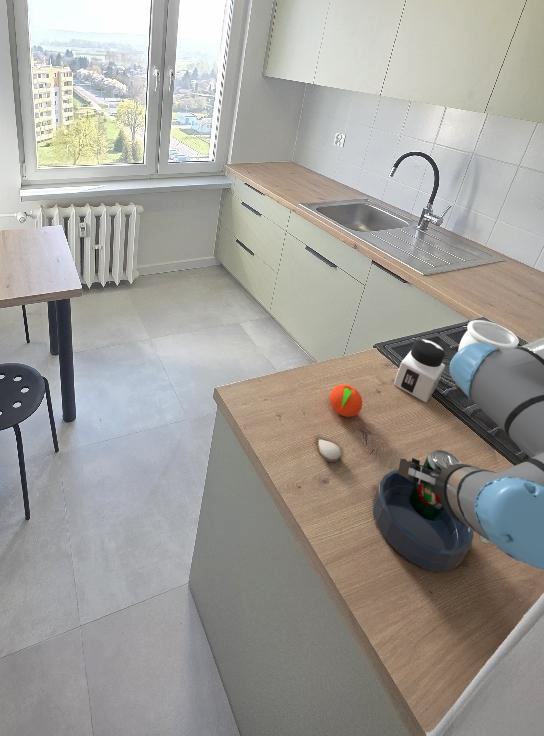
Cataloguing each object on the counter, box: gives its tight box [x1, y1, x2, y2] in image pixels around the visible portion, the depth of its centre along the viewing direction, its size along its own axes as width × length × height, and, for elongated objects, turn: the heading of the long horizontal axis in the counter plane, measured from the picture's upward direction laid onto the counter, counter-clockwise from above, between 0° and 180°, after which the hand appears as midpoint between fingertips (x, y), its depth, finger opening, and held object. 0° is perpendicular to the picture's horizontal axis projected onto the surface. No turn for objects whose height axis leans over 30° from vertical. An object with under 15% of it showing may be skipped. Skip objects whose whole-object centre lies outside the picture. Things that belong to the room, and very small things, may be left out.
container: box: [393, 339, 446, 403], centre depth 104 cm, size 8×8×13 cm
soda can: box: [409, 449, 462, 521], centre depth 70 cm, size 5×5×12 cm
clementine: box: [329, 383, 363, 418], centre depth 96 cm, size 8×7×7 cm
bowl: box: [372, 469, 475, 573], centre depth 74 cm, size 14×14×6 cm
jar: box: [457, 319, 520, 353], centre depth 107 cm, size 11×10×15 cm
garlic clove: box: [318, 438, 342, 462], centre depth 87 cm, size 4×5×2 cm
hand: (428, 476), depth 74 cm, fingers closed on soda can, 5 cm apart
